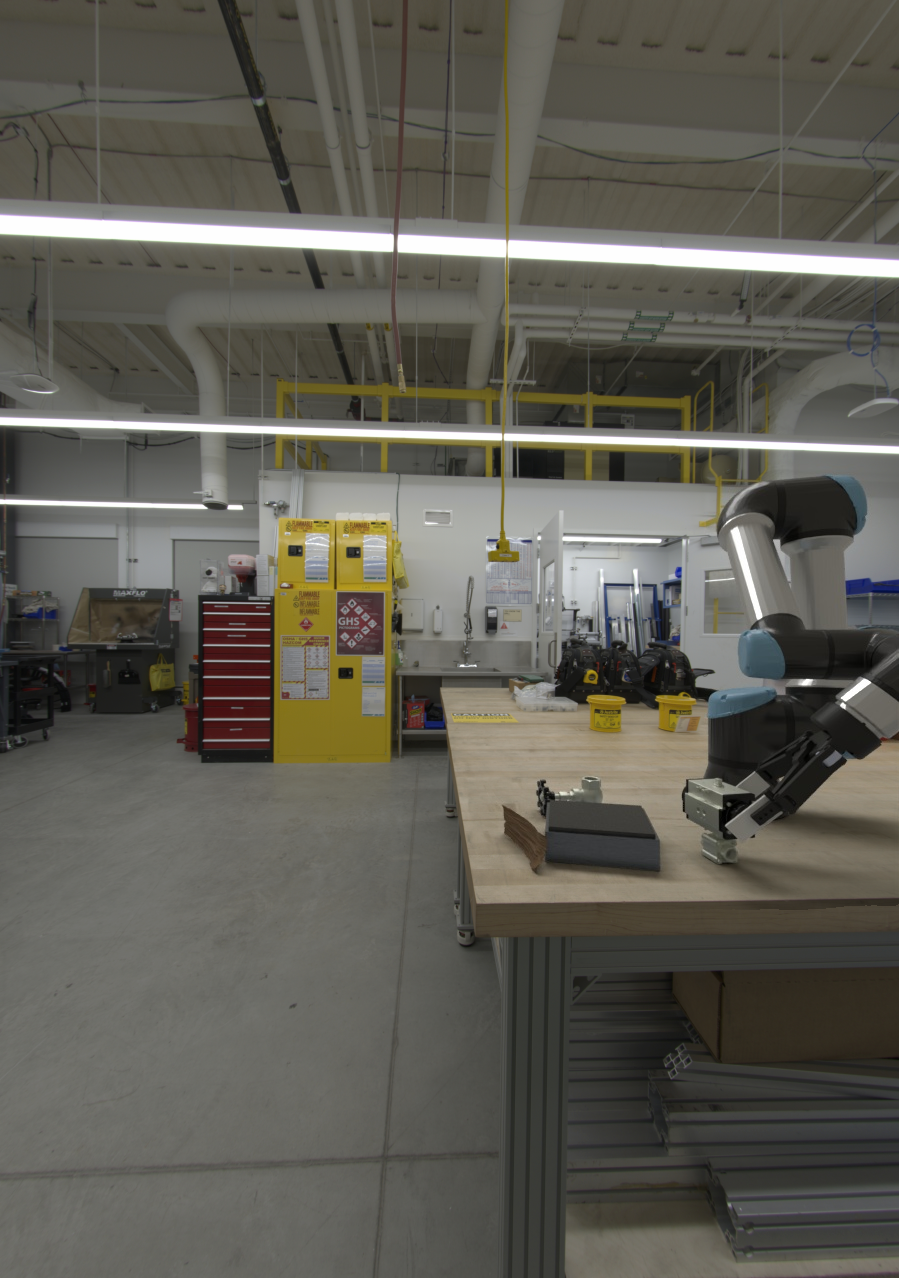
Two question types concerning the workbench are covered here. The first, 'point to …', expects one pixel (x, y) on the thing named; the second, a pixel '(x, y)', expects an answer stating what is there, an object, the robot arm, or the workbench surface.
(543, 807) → the valve
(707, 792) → the pneumatic valve
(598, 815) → the stand
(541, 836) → the wood plank
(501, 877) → the workbench surface
